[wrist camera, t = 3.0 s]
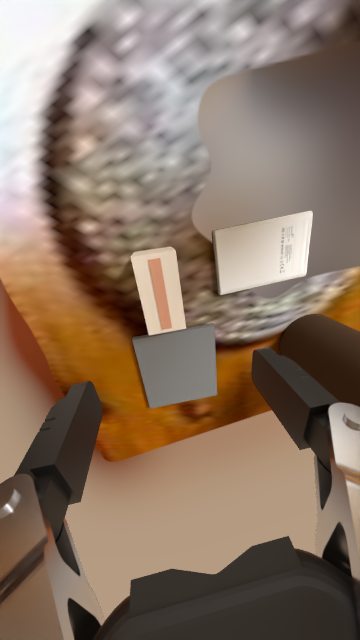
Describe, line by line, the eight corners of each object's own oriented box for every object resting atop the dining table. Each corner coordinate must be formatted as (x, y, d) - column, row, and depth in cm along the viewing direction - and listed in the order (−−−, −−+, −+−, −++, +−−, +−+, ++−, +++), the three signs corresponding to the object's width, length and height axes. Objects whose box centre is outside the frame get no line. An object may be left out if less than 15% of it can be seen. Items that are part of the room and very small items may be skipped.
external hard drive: (210, 230, 24) (304, 211, 25) (217, 292, 28) (298, 274, 28) (214, 230, 23) (314, 210, 23) (220, 296, 26) (306, 276, 27)
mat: (132, 337, 28) (132, 339, 27) (212, 323, 29) (214, 325, 28) (150, 404, 34) (150, 408, 33) (215, 391, 35) (217, 394, 34)
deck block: (134, 251, 23) (130, 257, 19) (170, 246, 24) (175, 250, 19) (148, 318, 27) (148, 336, 23) (180, 312, 28) (186, 329, 23)
